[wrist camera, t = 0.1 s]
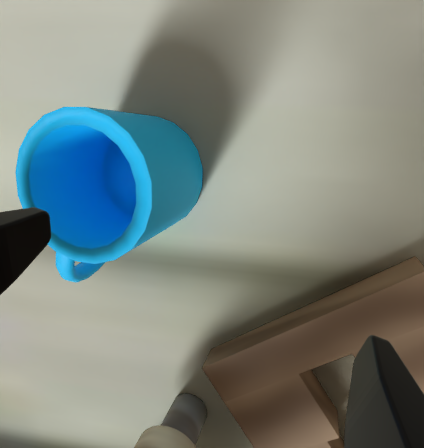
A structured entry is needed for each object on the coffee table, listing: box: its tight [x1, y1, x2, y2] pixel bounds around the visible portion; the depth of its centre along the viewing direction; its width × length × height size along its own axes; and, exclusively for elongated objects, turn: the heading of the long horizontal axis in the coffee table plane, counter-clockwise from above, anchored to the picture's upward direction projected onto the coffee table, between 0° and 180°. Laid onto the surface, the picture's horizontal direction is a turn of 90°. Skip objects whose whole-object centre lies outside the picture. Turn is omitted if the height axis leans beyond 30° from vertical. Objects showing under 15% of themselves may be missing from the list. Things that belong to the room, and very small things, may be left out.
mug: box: [16, 107, 203, 282], centre depth 23 cm, size 12×8×8 cm
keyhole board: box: [202, 256, 424, 448], centre depth 24 cm, size 16×16×2 cm
